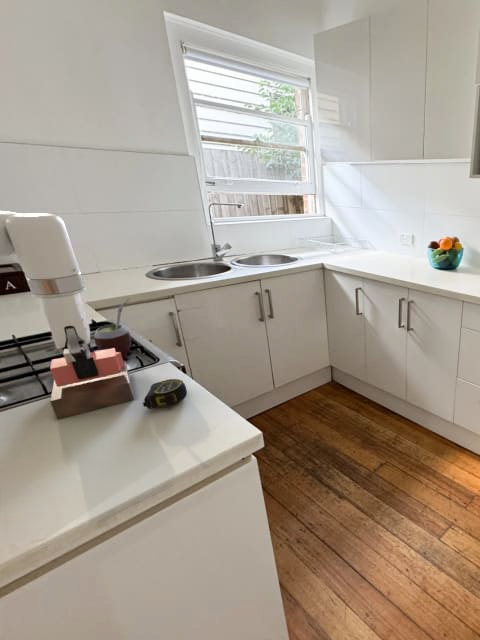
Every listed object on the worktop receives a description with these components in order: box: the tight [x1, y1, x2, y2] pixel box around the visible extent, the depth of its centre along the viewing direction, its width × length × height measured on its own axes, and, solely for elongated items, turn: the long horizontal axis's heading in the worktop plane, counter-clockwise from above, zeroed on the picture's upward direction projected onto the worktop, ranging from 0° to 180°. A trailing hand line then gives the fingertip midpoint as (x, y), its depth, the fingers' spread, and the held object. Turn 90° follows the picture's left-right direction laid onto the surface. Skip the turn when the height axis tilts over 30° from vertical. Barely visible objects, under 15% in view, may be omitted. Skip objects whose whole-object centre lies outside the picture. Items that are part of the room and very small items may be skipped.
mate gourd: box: [93, 297, 133, 361], centre depth 93 cm, size 8×8×15 cm
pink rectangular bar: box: [49, 345, 125, 387], centre depth 77 cm, size 11×5×6 cm, turn 128°
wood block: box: [49, 360, 135, 420], centre depth 79 cm, size 12×12×4 cm
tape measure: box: [141, 378, 188, 410], centre depth 78 cm, size 7×7×4 cm
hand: (88, 370), depth 77 cm, fingers closed on pink rectangular bar, 4 cm apart
